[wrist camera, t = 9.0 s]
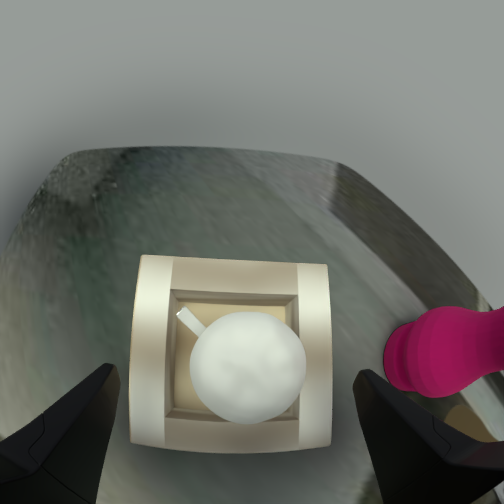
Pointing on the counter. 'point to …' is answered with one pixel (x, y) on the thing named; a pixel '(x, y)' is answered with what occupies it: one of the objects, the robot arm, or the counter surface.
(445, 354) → the pepper mill
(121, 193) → the counter surface
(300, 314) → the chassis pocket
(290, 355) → the milkshake
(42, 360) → the counter surface
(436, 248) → the counter surface
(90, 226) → the counter surface
